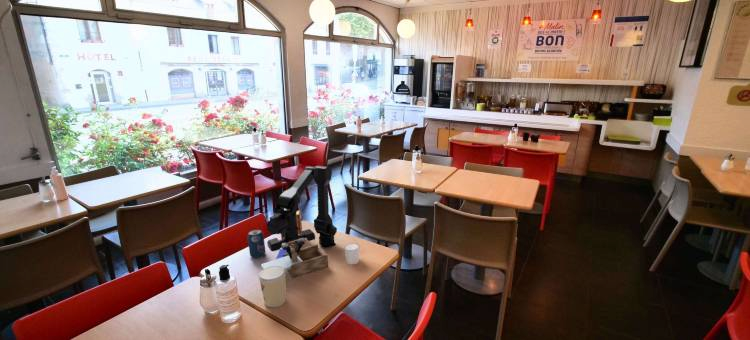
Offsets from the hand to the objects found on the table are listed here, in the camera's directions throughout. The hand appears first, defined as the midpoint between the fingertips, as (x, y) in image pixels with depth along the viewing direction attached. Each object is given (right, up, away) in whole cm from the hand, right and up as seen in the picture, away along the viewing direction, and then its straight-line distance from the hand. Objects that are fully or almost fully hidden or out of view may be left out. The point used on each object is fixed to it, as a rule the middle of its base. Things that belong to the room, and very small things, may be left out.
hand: (293, 258), depth 145 cm
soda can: (-20, -3, +15) cm, 25 cm away
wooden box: (+4, -5, +4) cm, 8 cm away
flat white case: (-4, -2, -2) cm, 5 cm away
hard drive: (-6, -4, +13) cm, 15 cm away
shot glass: (+24, -4, +8) cm, 26 cm away
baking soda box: (-7, +1, +27) cm, 28 cm away
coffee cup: (-3, -12, -17) cm, 21 cm away
